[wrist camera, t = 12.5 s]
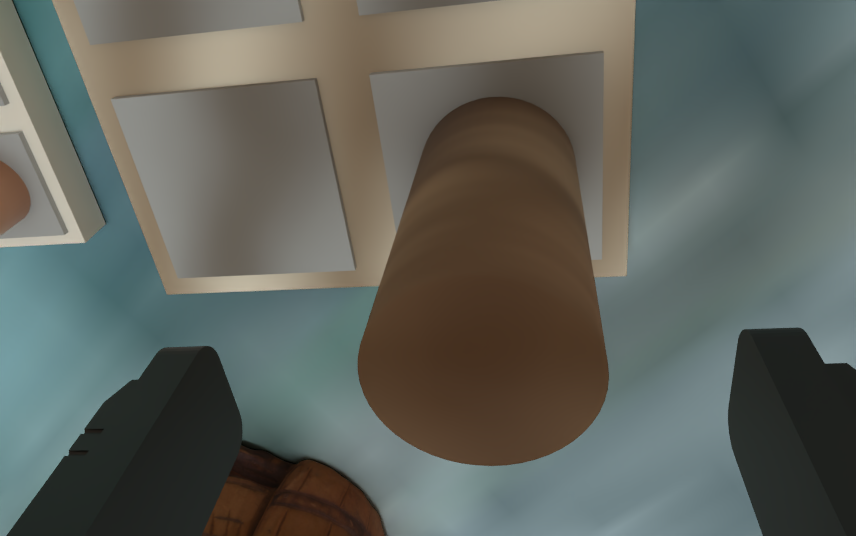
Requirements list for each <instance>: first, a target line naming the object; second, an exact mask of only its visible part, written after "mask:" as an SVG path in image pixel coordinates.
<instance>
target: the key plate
mask: <svg viewBox="0 0 856 536" xmlns="http://www.w3.org/2000/svg"><path fill="white" fill-rule="evenodd" d="M105 224H106V223H105V221H104V218H103V216H102V213H101V211H100V209H99V206H98V204H97V202H96V199H95V197H94V194H93V192H92V190H91V187H90V185H89V183H88V180H87V178H86V175H85V173H84V171H83V168H82V166H81V164H80V161H79V159H78V156H77V154H76V152H75V149H74V147H73V145H72V142H71V140H70V137H69V135H68V133H67V130H66V128H65V126H64V123H63V121H62V118H61V116H60V114H59V111H58V109H57V107H56V104H55V102H54V99H53V97H52V95H51V92H50V90H49V88H48V85H47V83H46V80H45V78H44V76H43V73H42V71H41V69H40V66H39V64H38V61H37V59H36V57H35V54H34V52H33V50H32V47H31V45H30V42H29V40H28V38H27V35H26V33H25V31H24V28H23V26H22V23H21V21H20V19H19V16H18V14H17V12H16V9H15V7H14V4H13V2H12V0H0V247H16V246H34V245H52V244H70V243H86V242H87V241H88V240H89V239H90V238H91V237H92V236H93V235H94V234H95V233H97V232H98V231H99V230H100V229H101V228H102V227H103V226H104V225H105Z"/></svg>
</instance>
